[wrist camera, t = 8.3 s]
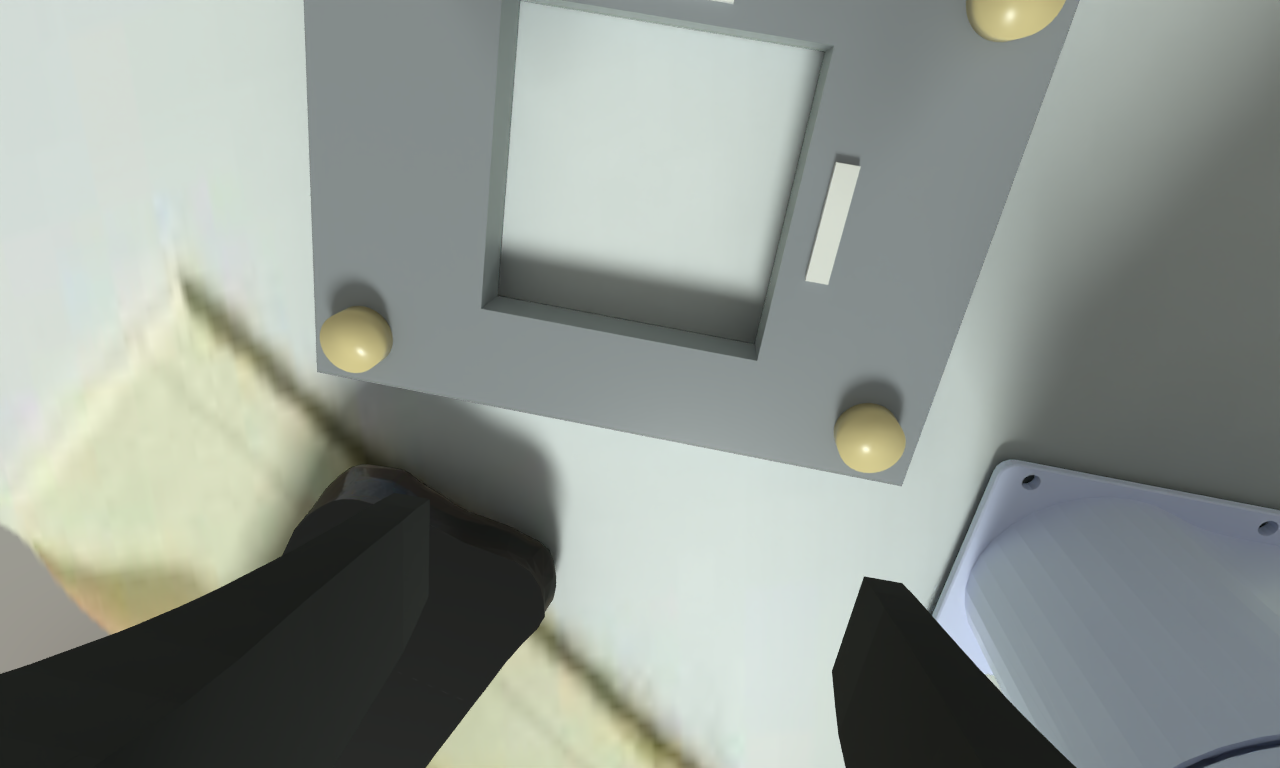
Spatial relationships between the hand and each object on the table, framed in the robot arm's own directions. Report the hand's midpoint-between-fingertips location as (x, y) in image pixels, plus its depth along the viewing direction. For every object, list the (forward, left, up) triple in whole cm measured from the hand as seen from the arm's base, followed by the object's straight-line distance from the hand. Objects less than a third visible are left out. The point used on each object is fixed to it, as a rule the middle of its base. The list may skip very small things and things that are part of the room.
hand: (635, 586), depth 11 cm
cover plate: (+2, -5, -10) cm, 12 cm away
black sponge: (+9, +13, -11) cm, 19 cm away
